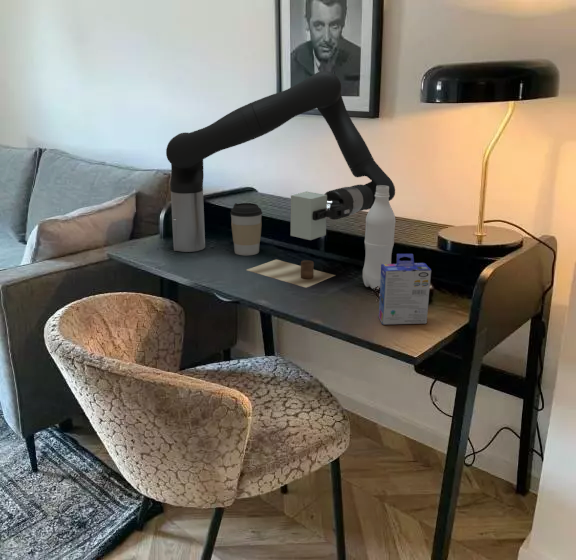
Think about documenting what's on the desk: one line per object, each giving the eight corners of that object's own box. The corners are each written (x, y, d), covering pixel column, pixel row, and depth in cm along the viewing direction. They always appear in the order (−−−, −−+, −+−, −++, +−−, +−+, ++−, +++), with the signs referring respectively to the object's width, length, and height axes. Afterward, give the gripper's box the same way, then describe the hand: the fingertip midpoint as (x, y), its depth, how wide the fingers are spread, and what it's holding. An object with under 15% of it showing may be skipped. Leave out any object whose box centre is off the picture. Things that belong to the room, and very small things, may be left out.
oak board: (246, 274, 158) (245, 255, 157) (276, 263, 167) (276, 245, 165) (306, 292, 146) (306, 271, 145) (335, 279, 155) (336, 260, 153)
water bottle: (394, 291, 148) (401, 189, 139) (364, 291, 147) (370, 189, 139) (387, 281, 154) (394, 183, 146) (359, 281, 154) (364, 183, 146)
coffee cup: (264, 251, 178) (264, 201, 173) (260, 261, 169) (259, 208, 164) (234, 250, 178) (233, 200, 173) (228, 259, 170) (226, 207, 165)
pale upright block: (290, 235, 149) (290, 195, 146) (306, 230, 154) (306, 191, 150) (310, 240, 145) (311, 199, 142) (325, 234, 150) (327, 194, 146)
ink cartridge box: (420, 314, 134) (426, 251, 129) (428, 324, 129) (434, 259, 124) (376, 315, 133) (380, 252, 129) (382, 325, 128) (386, 260, 123)
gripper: (320, 184, 161) (279, 194, 149) (366, 191, 152) (327, 202, 140) (320, 212, 163) (279, 224, 151) (365, 221, 155) (326, 234, 143)
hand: (302, 213), depth 146 cm, fingers closed on pale upright block, 6 cm apart
